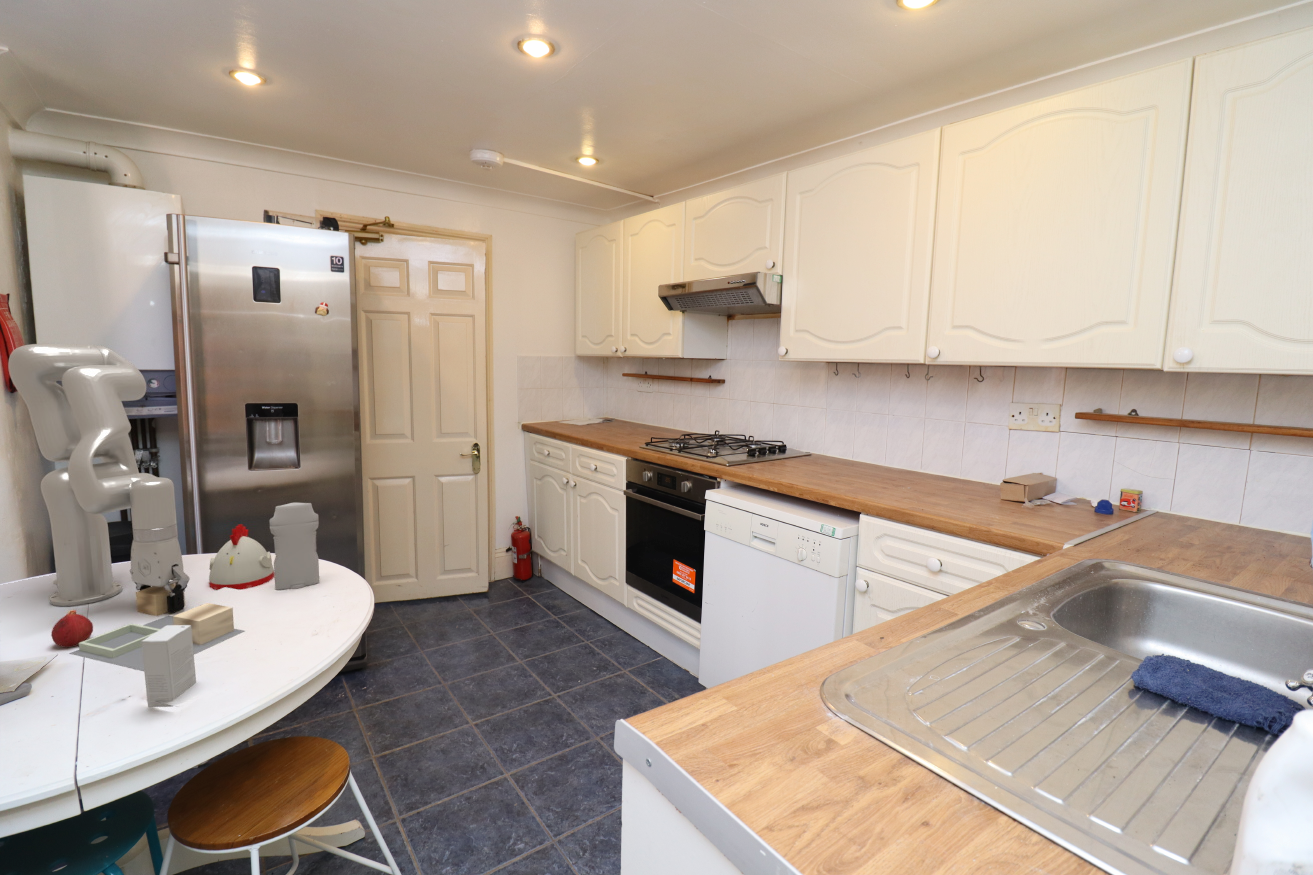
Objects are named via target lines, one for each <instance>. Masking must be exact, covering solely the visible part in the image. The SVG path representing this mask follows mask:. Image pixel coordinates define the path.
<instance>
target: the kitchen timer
mask: <svg viewBox="0 0 1313 875" xmlns="http://www.w3.org/2000/svg"><path fill="white" fill-rule="evenodd" d="M231 531H232V534H231V535H230V534H229V537H230V540H228V541H227V542H225V544H224V545H223V546H222V547H221V548H220V549H219V550H218V552H217V553H216V555H215V557H211V558H210V560H209V561H210V562H209V576H208V578H209V579H208V581H209V588H210V589H211V590H215V591H218V590H222V589H223V588H224V589H225V588H227V589H232V590H233V589H234V590H238V591H240V590H247V589H251V588H255V587H258V586H261V585H265V584H268V583H269V582H271V581H272V580H274V578H275V577H274V564H273V560H272V554H271V552H270V551H267V550H266V549H265V547H264V546H263V545H262V544H261V543H259V542H258V541H257V540H255V539H254V538H251V537H249V536H248V535H249V529H246V526H244V525H243V524H242V523H241V524H237V525H236V526H235V528H232V529H231Z"/></svg>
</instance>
